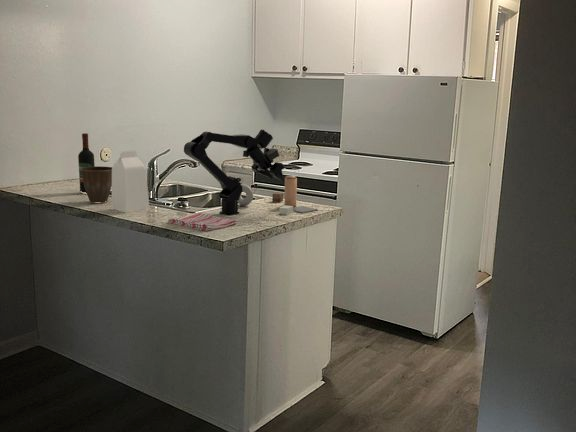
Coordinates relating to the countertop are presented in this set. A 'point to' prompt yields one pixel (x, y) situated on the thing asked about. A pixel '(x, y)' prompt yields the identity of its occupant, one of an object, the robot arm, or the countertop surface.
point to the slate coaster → (304, 209)
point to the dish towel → (203, 222)
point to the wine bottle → (85, 159)
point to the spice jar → (290, 191)
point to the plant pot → (97, 182)
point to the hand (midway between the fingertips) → (277, 179)
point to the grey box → (286, 210)
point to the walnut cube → (277, 197)
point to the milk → (129, 183)
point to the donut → (248, 195)
